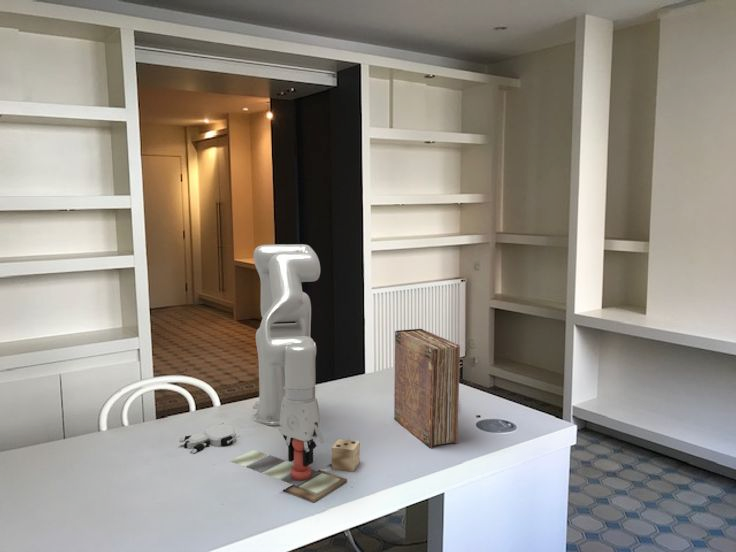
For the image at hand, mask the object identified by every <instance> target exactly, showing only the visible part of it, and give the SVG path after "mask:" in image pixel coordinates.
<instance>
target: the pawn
mask: <svg viewBox="0 0 736 552" xmlns="http://www.w3.org/2000/svg"><path fill="white" fill-rule="evenodd" d="M308 442H309V444H310V441H308ZM292 445H293V447H294V460H293V463H294V466H293V467H292V468H291V473H290V474H291V478H292V479H293V480H297V481H303V480H307V479H309V478H310V477H311V469H312V467H311V466H310V465H308V466H306V467H305V466H303V451H305V447H304V441H301V440H297V439H294V438H293V440H292Z"/></svg>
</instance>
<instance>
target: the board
mask: <svg viewBox="0 0 736 552" xmlns="http://www.w3.org/2000/svg"><path fill="white" fill-rule="evenodd" d="M229 462H231V463H234V464H237V465H239V466H242V467H246V468H247V469H251V470H252V471H256V472H258V473H261V474H264V475H266V476H269V477H271V478H274V479H277V480H280V481H283V482H286V483H288V484H290V486H288V487H286V488H284V489H282V490H281V491H282V492H284V493H287V494H289V495H292V496H295V497H297V498H299V499H303V500H305V501H308V502H310V503H312V504H313V503H316V502H318V501H319V500H321V499H322V498H324V497H326V496H327V495H329V494H331V493H333V491H335V490H336V489H338V488H340V487H341V486H343V485H344V484H346V483H348V479H347V478H344V477H342V476H338V475H336V474H333V473H330V472H326V471H324V470H321V469H317V470H315V469H312V468H311V477H310V478H309V479H307V480H303V481H297V480H293V479H292V478H291V468H292V467H293V466H294V462H292V461H291V462H290V461H287V460H285V459H282V458H280V457H276V456H273V455H270V454H267V453H264V452H262V451H259V450H255V449H252V450H250V451H248V452H246V453H244V454H242V455H241V454H240V455H239V456H236V457H235V458H233V459H231V460H229Z"/></svg>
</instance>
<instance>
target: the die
mask: <svg viewBox="0 0 736 552" xmlns="http://www.w3.org/2000/svg"><path fill="white" fill-rule="evenodd" d="M360 443H361V442H360V441H359V440H351V439H342V438H341V439H340V438H338V439H337V441H335V443H334V444H333V445H332V446H331V469H332V470H336V471H344V472H351V473H352V472H355V470H356V468H357V467H358V465H359V464H360V460H361V459H360V455H361V454H360V449H361V448H360V445H361V444H360Z"/></svg>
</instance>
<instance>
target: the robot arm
mask: <svg viewBox="0 0 736 552" xmlns="http://www.w3.org/2000/svg"><path fill="white" fill-rule="evenodd" d="M253 262H254V266H255V268H256V271H257V273H258V275H259V279H260V315H261V317H262V318H261V322H260V325H259V327H258V328H257V330H256V332H255V344H256V351H257V359H258V383H259V384H258V389H259V391H258V396H259V400H256V401H255V403H254V404H253V405H252V409H253V410H257V413H256V414H255V415H254V422H256V423H258V424H261V425H263V426H264V425H265V426H279V428H278V431H279V433H280V434H281V435H282V437H283V439H284V440H285V445H286V446H287V447H288V450H287V457H288V458H287V460H288V462H291V463H292V462H294V447H293V445H292V440H293V438H294V439H297V440H301V441H304V447H305V451H303V466H305V467H306V466H310V465H312V464H314V449H316V448H317V446H319V445H320V444H322V443H324V438H323V436H322V433H321V418H320V417H321V416H320V409H319V403H318V399H317V398H316V356H317V345H316V344H317V343H316V342H315V341H314V339H313V338H312V337H311V326H312V325H311V323H312V322H311V321H312V303H311V298H310V296H309V295H308V294H307V293H306V292H304V291H303V286H302V283H305V282H307V283H308V282H309V283H310V282H316V281H318V280H319V278H320V275H321V264H320V260H319V257H318V255H317V253H316V252H315V250H314V249H313V248H312V247H311V246H310V245H308V244H302V243H300V244H297V243H296V244H294V243H293V244H289V243H288V244H284V243H283V244H261V245H258V246H257V247H256V248H255V249H254V251H253ZM283 322H284V323H283ZM286 322H288V323H286ZM290 322H291V323H290ZM293 322H294V323H293ZM308 441H310V444H309V442H308Z"/></svg>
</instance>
